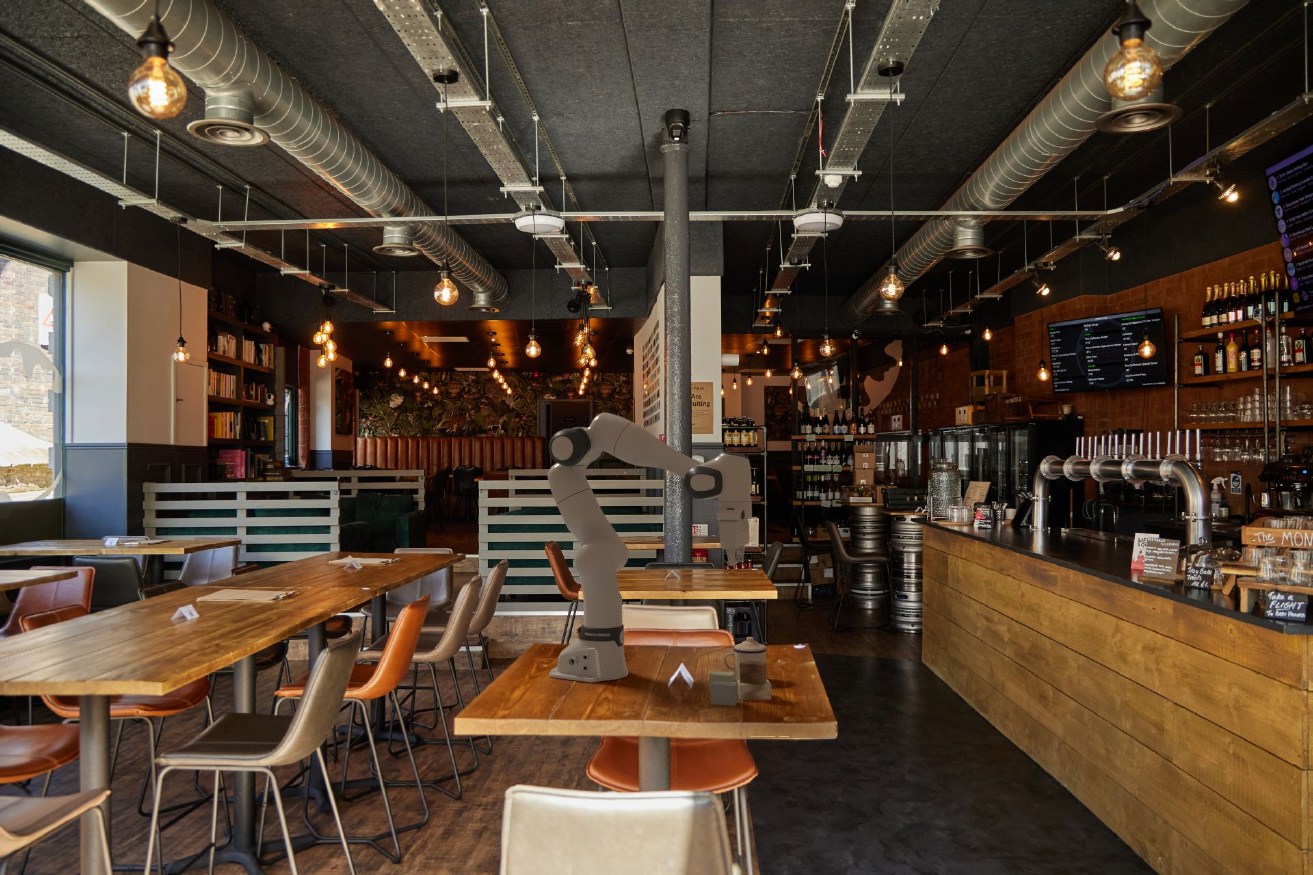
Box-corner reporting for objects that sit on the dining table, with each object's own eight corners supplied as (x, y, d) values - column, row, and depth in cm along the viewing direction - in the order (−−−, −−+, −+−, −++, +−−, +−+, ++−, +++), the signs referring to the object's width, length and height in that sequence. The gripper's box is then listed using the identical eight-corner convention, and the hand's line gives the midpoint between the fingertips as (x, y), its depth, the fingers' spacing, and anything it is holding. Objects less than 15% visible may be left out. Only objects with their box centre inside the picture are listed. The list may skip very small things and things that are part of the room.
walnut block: (740, 682, 220) (739, 662, 220) (744, 679, 223) (744, 660, 223) (762, 684, 217) (762, 664, 218) (766, 681, 221) (766, 662, 221)
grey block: (711, 704, 214) (711, 684, 214) (714, 700, 217) (714, 680, 217) (734, 706, 212) (734, 685, 212) (737, 702, 215) (737, 682, 216)
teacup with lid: (767, 676, 242) (767, 634, 242) (766, 684, 233) (765, 641, 233) (725, 674, 244) (724, 633, 244) (722, 682, 235) (721, 640, 235)
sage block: (709, 693, 224) (709, 674, 225) (712, 690, 228) (712, 671, 228) (732, 695, 223) (731, 675, 223) (734, 691, 226) (734, 672, 226)
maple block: (740, 700, 217) (739, 684, 218) (737, 695, 222) (736, 680, 223) (771, 700, 218) (771, 684, 218) (767, 694, 223) (767, 679, 223)
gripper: (732, 510, 242) (733, 559, 241) (714, 514, 222) (715, 567, 222) (754, 510, 240) (755, 560, 239) (738, 514, 220) (739, 568, 220)
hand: (736, 563), depth 230 cm, fingers open, 8 cm apart
